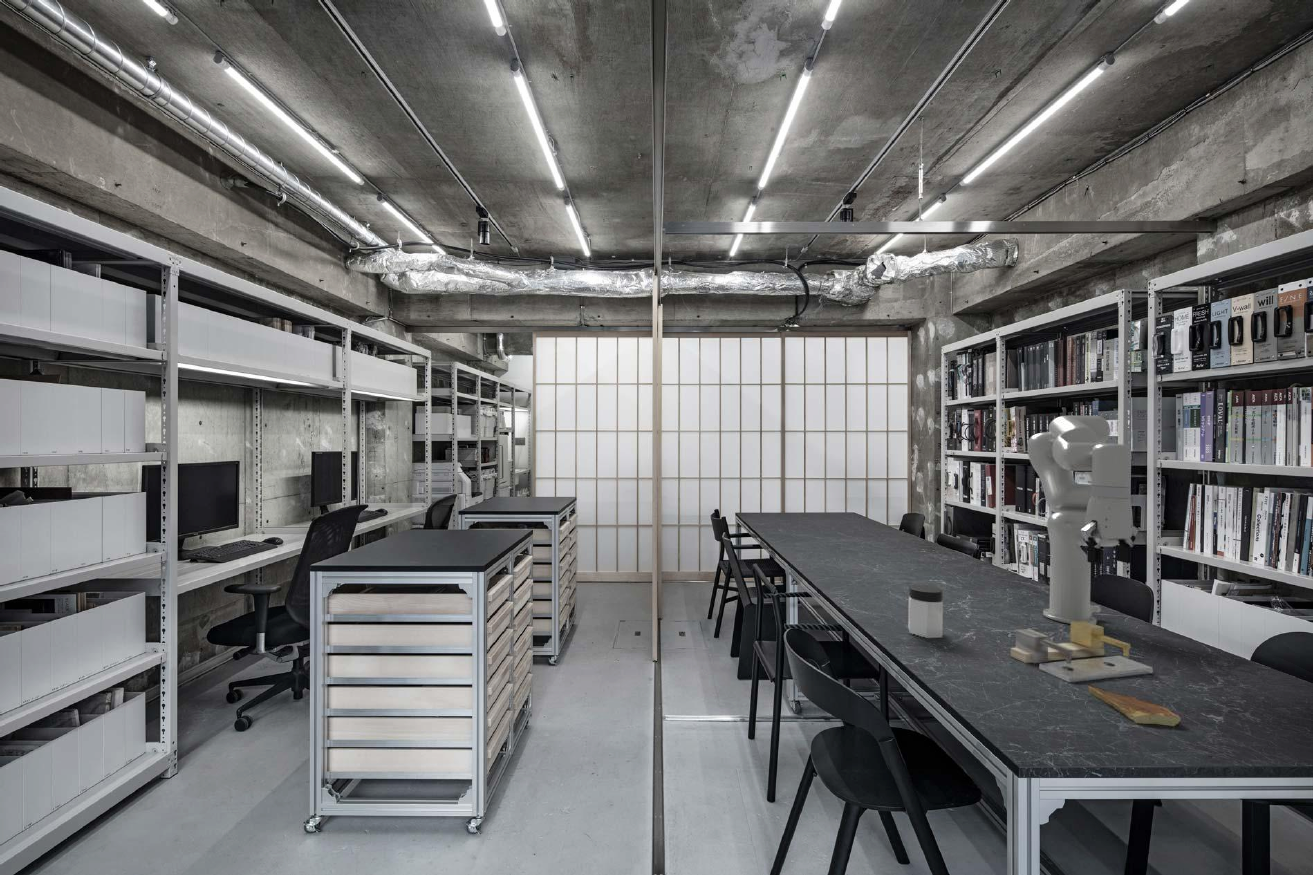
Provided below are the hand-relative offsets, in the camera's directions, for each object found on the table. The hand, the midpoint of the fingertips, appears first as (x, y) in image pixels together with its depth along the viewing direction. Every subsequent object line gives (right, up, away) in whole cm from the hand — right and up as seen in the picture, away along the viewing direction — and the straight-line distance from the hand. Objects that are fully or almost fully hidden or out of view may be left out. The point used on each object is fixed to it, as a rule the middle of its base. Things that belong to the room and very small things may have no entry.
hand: (1109, 562), depth 137 cm
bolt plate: (-14, -22, -13) cm, 29 cm away
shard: (-22, -22, -32) cm, 45 cm away
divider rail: (-15, -22, -7) cm, 27 cm away
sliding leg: (-6, -20, -5) cm, 21 cm away
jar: (-41, -21, +10) cm, 47 cm away
